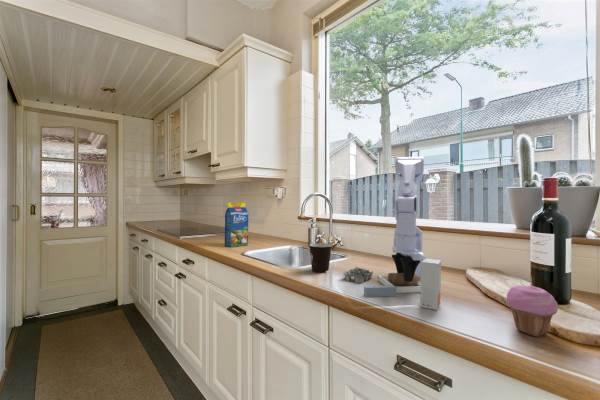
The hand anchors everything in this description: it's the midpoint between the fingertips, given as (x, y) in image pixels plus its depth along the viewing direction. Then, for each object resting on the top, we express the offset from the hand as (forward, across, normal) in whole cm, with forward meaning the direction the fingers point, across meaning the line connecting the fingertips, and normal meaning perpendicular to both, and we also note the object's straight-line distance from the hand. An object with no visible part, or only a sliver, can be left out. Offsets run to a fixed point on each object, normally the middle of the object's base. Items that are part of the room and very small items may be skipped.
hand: (405, 279), depth 93 cm
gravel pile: (+4, +13, +11) cm, 17 cm away
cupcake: (+4, -30, -14) cm, 33 cm away
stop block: (+4, -5, +10) cm, 12 cm away
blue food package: (+3, +90, +59) cm, 107 cm away
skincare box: (+4, -12, -1) cm, 13 cm away
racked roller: (+1, +6, 0) cm, 6 cm away
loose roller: (+1, +2, 0) cm, 2 cm away
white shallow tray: (+4, +4, 0) cm, 5 cm away
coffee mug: (+4, +28, +21) cm, 36 cm away
